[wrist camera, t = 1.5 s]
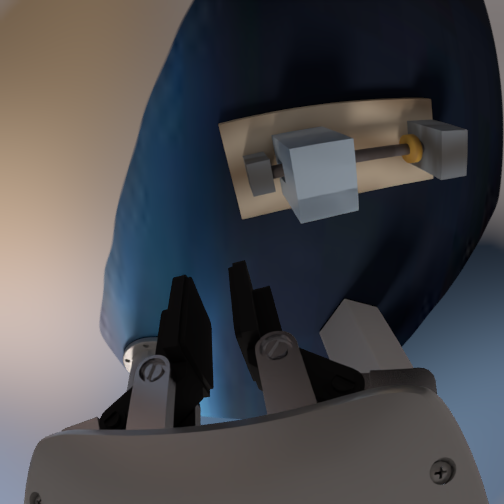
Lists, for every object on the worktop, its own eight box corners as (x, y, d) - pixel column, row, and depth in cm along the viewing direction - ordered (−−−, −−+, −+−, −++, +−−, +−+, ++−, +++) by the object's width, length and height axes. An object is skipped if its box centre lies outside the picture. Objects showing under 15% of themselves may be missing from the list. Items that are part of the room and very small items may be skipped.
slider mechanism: (426, 174, 31) (464, 196, 25) (241, 213, 31) (248, 248, 25) (423, 97, 26) (466, 106, 19) (218, 123, 26) (219, 133, 20)
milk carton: (343, 297, 40) (400, 410, 23) (377, 306, 42) (434, 405, 26) (318, 331, 43) (358, 441, 27) (352, 337, 45) (396, 434, 29)
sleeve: (329, 183, 28) (358, 210, 22) (282, 193, 28) (301, 223, 23) (321, 126, 25) (353, 138, 19) (271, 135, 25) (289, 149, 19)
